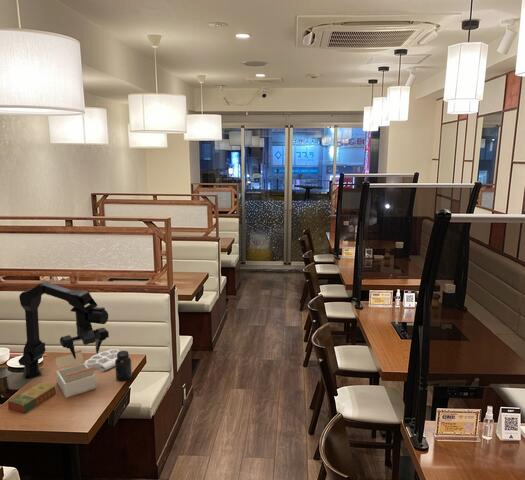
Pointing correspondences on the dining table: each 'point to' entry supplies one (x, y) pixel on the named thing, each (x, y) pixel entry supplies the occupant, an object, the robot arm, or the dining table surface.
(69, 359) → the flap
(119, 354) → the supplement bottle
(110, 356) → the white egg tray
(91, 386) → the crate
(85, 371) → the flap
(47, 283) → the robot arm
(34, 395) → the carton
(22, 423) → the dining table surface
